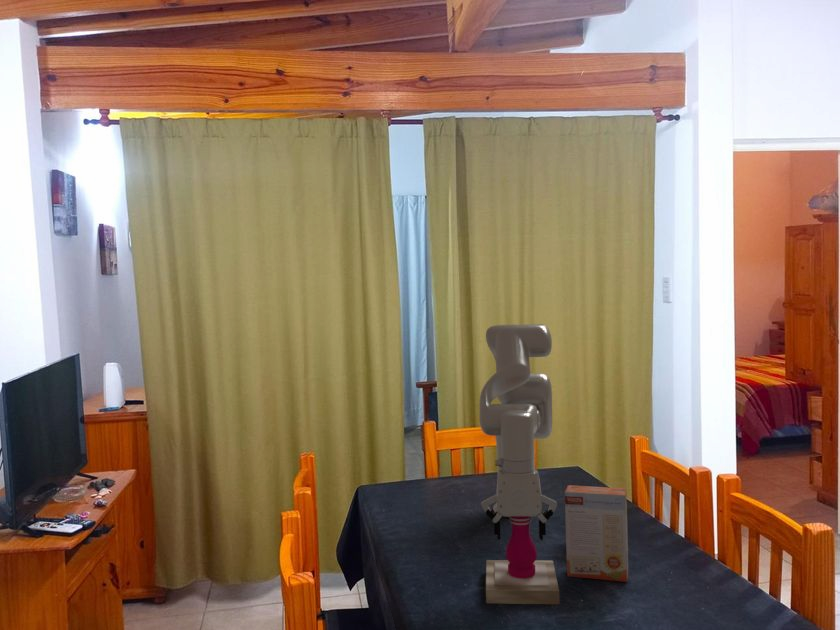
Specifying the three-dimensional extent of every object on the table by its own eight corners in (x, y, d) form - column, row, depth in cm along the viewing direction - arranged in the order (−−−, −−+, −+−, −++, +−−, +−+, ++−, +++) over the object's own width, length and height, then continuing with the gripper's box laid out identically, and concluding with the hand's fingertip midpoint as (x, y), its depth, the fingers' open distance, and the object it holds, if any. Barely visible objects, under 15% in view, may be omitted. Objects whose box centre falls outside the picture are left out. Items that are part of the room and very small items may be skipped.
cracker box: (628, 572, 171) (627, 487, 170) (627, 583, 166) (625, 495, 164) (569, 566, 176) (567, 483, 174) (566, 577, 170) (564, 491, 169)
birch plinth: (486, 572, 174) (486, 558, 174) (553, 572, 173) (552, 558, 172) (486, 603, 158) (485, 588, 158) (559, 604, 157) (559, 589, 156)
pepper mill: (536, 580, 161) (534, 493, 160) (504, 578, 163) (502, 492, 161) (538, 566, 168) (536, 483, 167) (507, 565, 170) (505, 482, 168)
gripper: (479, 470, 161) (482, 544, 162) (557, 469, 159) (559, 544, 160) (480, 460, 168) (482, 531, 169) (554, 460, 166) (556, 531, 167)
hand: (519, 537), depth 165 cm, fingers open, 9 cm apart
